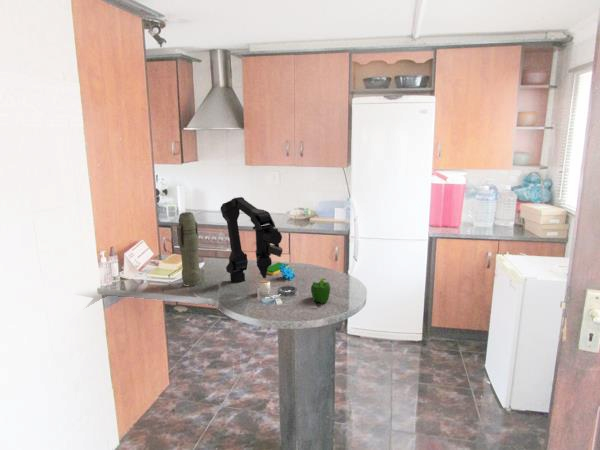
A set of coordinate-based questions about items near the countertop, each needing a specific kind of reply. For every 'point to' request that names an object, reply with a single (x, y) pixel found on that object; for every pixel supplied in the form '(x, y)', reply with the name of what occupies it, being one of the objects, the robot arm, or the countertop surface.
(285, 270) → the gear
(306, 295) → the countertop surface
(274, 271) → the dish sponge
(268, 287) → the knob
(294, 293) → the hub plate
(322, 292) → the bell pepper
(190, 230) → the thermos
